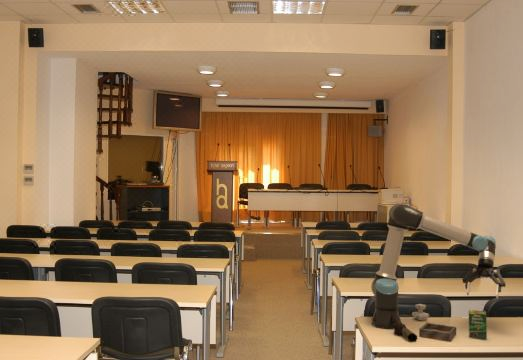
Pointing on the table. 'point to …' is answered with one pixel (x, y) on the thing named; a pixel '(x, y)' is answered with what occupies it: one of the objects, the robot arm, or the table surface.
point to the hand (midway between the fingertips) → (482, 295)
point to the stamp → (420, 312)
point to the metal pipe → (404, 332)
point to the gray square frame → (437, 332)
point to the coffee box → (477, 324)
